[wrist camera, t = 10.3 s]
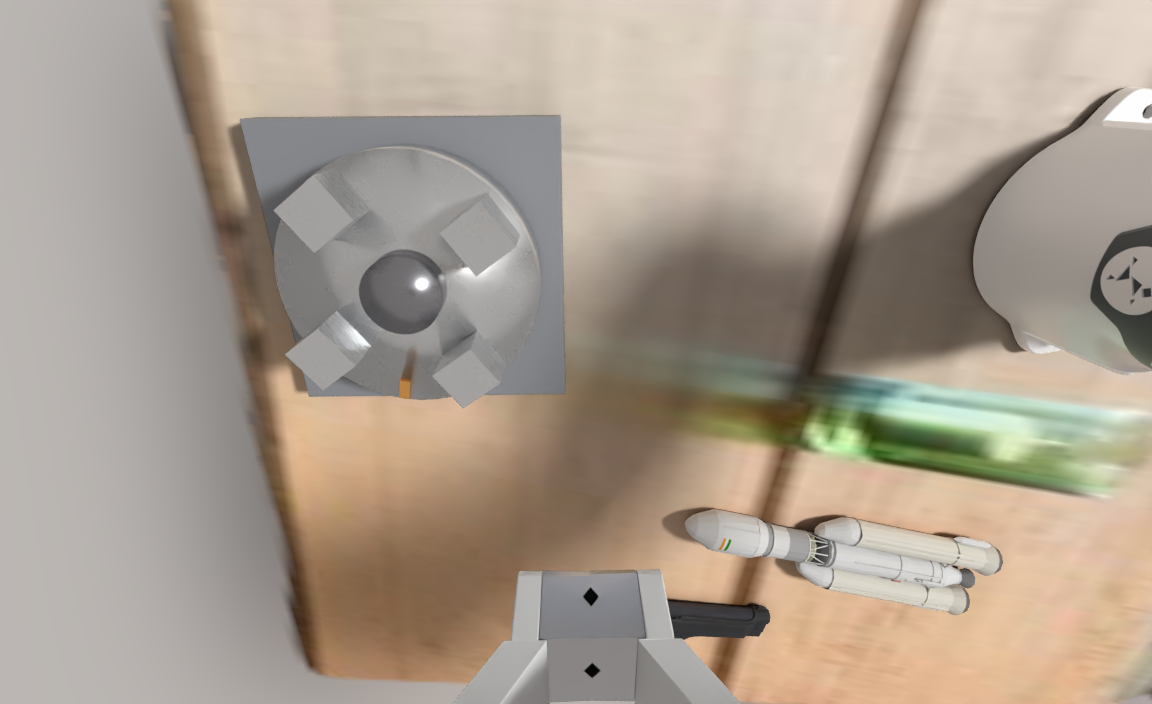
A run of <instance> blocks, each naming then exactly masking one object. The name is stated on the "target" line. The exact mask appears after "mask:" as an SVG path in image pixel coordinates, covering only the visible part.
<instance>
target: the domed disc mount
mask: <svg viewBox="0 0 1152 704" xmlns="http://www.w3.org/2000/svg"><path fill="white" fill-rule="evenodd" d="M274 211H275V213H276V214H277V215H278V216H279V217H280V218H281V220H280V224H279V227H278V230H277V234H276V240H275V248H274V269H275V276H276V282H277V287H278V290H279V294H280V297H281V300H282V303H283V305H284V307H285V310H286V312H287V314H288V316H289V318H290V320H291V322H292V323H293V325H294V327H295V329H296V330H297V332H298V333H299V334H300V336H301V337H302V339H301V340H300V341H299V342H298V343H297V344H296V345H294V346H293V347H292V348H291V349H290V350H289V351H288V352H287V353H286V354H285V355H286V356H287V357H288V358H289V359H290V360H291V361H292V362H293V363H294V364H295V365H296V366H297V367H299V368H300V369H301V370H302V371H303V372H304V373H305V374H306V375H307V376H308V377H309V378H310V379H311V380H312V381H313V382H315V383H316V384H317V385H318V386H319V387H320V388H321V389H322V390H324V389H326V388H327V387H328V386H330V385H331V384H332V383H334V382H335V381H336V380H338V379H339V378H340V377H342V376H344V377H346V378H348V379H350V380H352V381H353V382H355V383H357V384H359V385H361V386H363V387H366V388H368V389H371V390H373V391H376V392H379V393H383V394H386V395H389V396H394V397H399V398H405V399H419V400H426V399H440V398H447V397H453V399H454V400H455V401H456V402H457V403H458V404H459V405H460V406H461V407H462V408H464V407H466V406H467V405H469V404H470V403H472V402H473V401H475V400H476V399H478V398H479V397H481V396H482V395H484V394H485V393H487V392H488V391H490V390H491V389H493V388H494V387H496V386H497V385H499V384H500V383H501V379H502V375H503V371H504V370H505V369H506V368H507V367H508V366H509V365H510V364H511V363H512V362H513V361H514V360H515V358H516V357H517V355H518V354H519V353H520V351H521V350H522V349H523V347H524V345H525V343H526V341H527V339H528V338H529V336H530V333H531V330H532V328H533V325H534V322H535V318H536V314H537V309H538V303H539V297H540V289H541V262H540V256H539V251H538V246H537V243H536V240H535V237H534V234H533V231H532V229H531V227H530V225H529V223H528V221H527V219H526V217H525V215H524V213H523V212H522V210H521V209H520V207H519V206H518V204H517V203H516V201H515V200H514V198H513V197H512V196H511V195H510V194H509V193H508V192H507V190H506V189H505V188H504V187H503V186H502V185H501V184H500V183H499V182H498V181H496V180H495V179H494V178H493V177H492V176H491V175H490V174H488V173H487V172H485V171H484V170H483V169H481V168H480V167H478V166H477V165H475V164H474V163H472V162H470V161H468V160H466V159H464V158H462V157H460V156H458V155H456V154H453V153H450V152H448V151H445V150H442V149H438V148H434V147H429V146H425V145H415V144H389V145H384V146H379V147H373V148H370V149H366V150H363V151H360V152H357V153H354V154H351V155H348V156H345V157H342V158H339V159H337V160H335V161H333V162H332V163H330V164H328V165H326V166H324V167H322V168H321V169H320V170H318V171H317V172H316V173H315V174H313V175H312V176H311V177H309V178H308V179H307V180H306V181H305V182H304V184H303V185H301V186H300V187H299V188H298V189H297V190H296V191H295V192H294V193H292V194H291V195H290V196H289V197H288V198H287V199H286V200H285V201H283V202H282V203H281V204H280V205H279V206H278V207H277V208H276V209H274Z"/></svg>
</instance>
